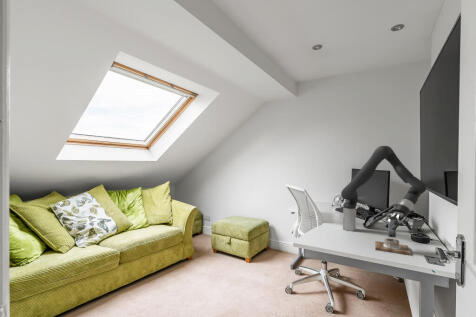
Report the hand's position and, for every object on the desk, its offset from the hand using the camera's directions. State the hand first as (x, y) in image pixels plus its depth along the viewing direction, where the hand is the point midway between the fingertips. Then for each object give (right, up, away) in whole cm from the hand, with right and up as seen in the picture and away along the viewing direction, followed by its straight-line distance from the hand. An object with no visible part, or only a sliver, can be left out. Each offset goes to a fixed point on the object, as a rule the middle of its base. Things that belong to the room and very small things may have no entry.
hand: (389, 228), depth 154 cm
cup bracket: (+2, -13, 0) cm, 13 cm away
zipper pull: (+46, -14, +39) cm, 62 cm away
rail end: (+2, -5, 0) cm, 6 cm away
